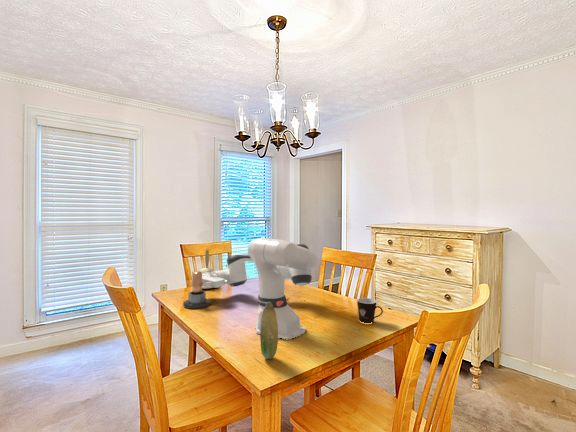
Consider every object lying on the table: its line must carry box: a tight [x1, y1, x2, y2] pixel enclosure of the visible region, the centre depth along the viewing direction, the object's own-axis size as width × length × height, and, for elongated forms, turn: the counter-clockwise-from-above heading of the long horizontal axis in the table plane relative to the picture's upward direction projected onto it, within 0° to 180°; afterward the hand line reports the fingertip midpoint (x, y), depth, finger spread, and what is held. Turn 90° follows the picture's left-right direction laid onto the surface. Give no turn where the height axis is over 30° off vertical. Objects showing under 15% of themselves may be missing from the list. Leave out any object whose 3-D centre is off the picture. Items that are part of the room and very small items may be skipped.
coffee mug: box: [356, 297, 384, 323], centre depth 144 cm, size 12×9×10 cm
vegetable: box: [259, 302, 279, 360], centre depth 109 cm, size 6×6×20 cm
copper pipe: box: [191, 270, 203, 295], centre depth 168 cm, size 5×5×16 cm
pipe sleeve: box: [182, 290, 211, 310], centre depth 168 cm, size 14×14×6 cm
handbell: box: [200, 248, 215, 289], centre depth 203 cm, size 15×15×25 cm
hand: (197, 283), depth 168 cm, fingers open, 8 cm apart
